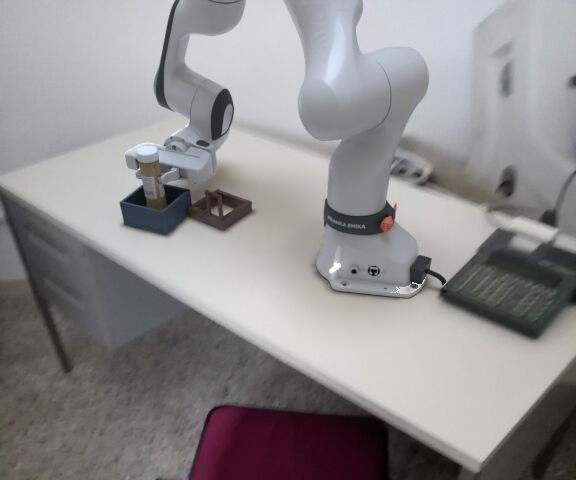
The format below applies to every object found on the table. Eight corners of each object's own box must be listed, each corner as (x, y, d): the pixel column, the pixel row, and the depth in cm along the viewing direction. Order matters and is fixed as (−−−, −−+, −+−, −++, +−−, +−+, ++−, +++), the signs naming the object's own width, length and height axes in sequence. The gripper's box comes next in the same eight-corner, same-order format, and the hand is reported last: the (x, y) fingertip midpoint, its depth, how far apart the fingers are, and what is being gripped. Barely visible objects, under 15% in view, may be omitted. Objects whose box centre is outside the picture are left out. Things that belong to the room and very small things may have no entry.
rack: (252, 211, 137) (250, 178, 131) (223, 231, 131) (219, 197, 126) (218, 198, 141) (215, 166, 136) (188, 216, 136) (183, 183, 130)
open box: (193, 211, 137) (190, 189, 133) (166, 235, 130) (162, 212, 126) (152, 202, 141) (148, 179, 137) (124, 224, 133) (119, 202, 129)
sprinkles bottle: (171, 208, 134) (162, 149, 124) (155, 215, 131) (144, 156, 122) (159, 201, 136) (149, 142, 126) (143, 208, 134) (131, 149, 124)
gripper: (143, 131, 137) (106, 155, 129) (220, 146, 131) (187, 173, 123) (147, 157, 142) (112, 182, 133) (223, 173, 136) (191, 201, 127)
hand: (149, 178), depth 128 cm, fingers closed on sprinkles bottle, 4 cm apart
